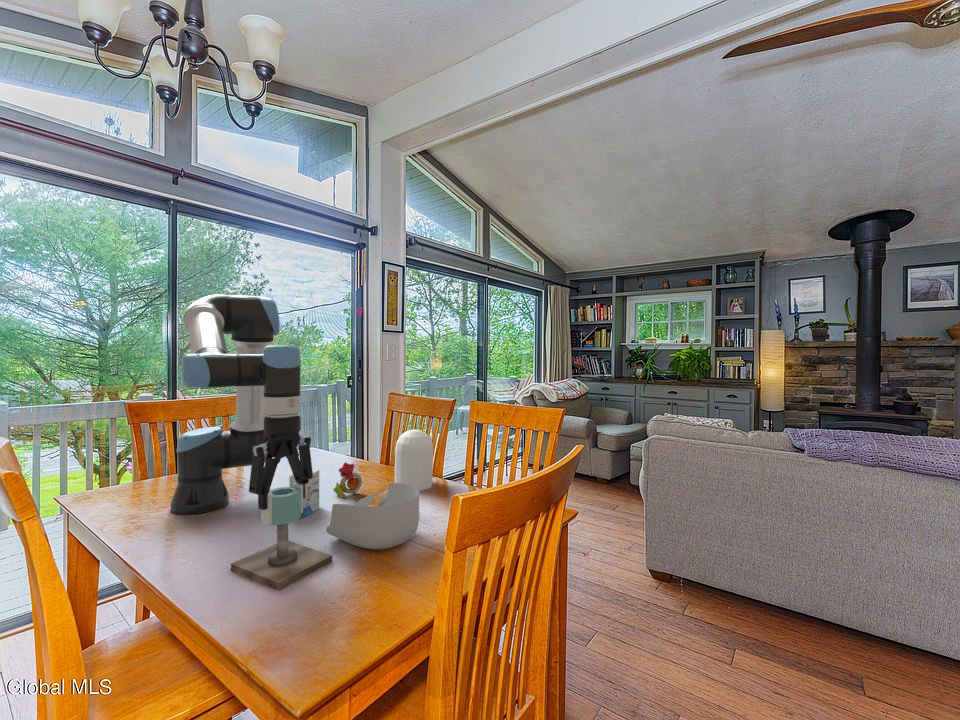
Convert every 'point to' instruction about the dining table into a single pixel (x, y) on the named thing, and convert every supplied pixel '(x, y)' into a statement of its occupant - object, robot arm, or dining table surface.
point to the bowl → (378, 519)
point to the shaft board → (281, 562)
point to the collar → (285, 505)
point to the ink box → (309, 493)
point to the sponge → (383, 498)
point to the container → (414, 460)
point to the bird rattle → (351, 483)
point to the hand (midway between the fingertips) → (282, 517)
